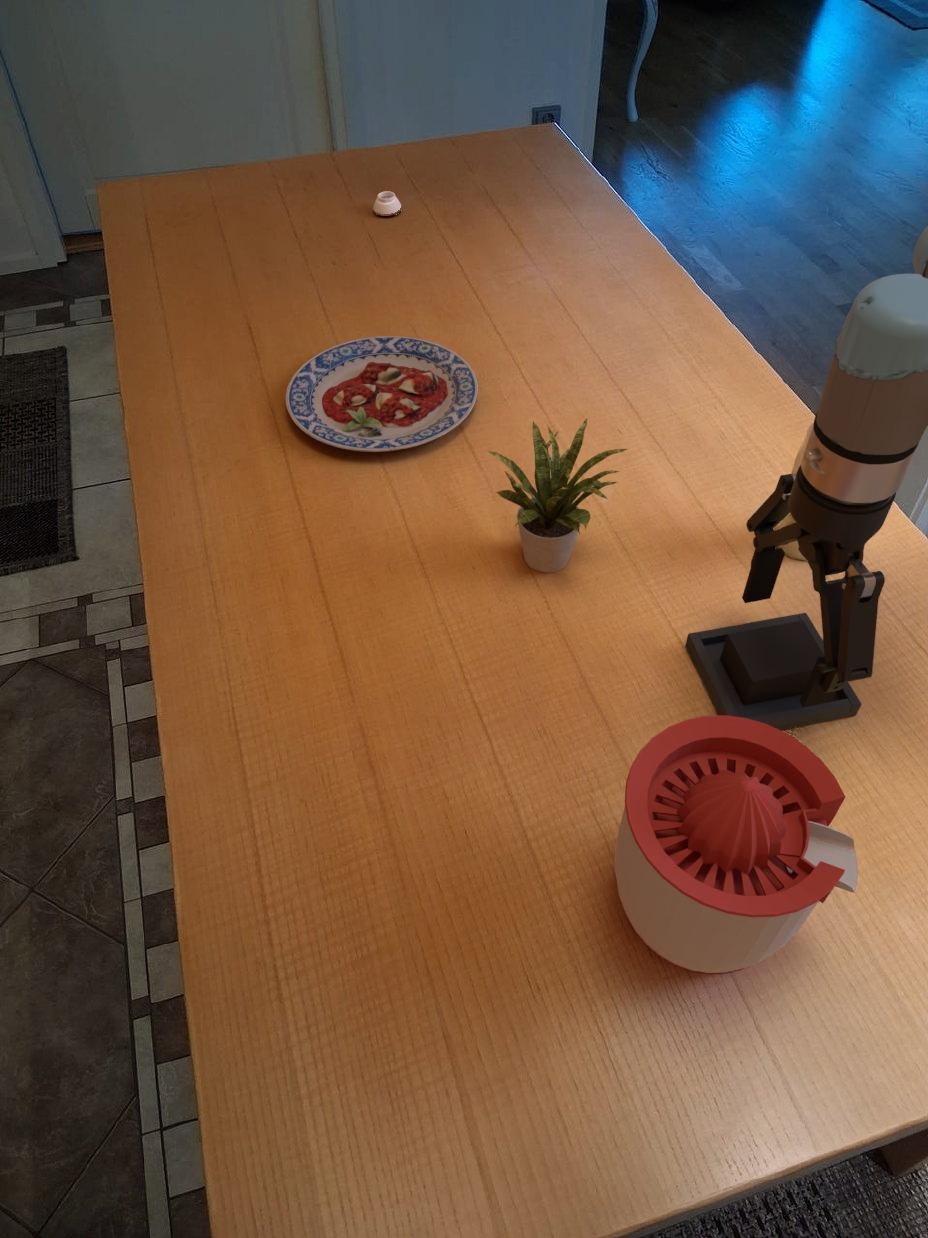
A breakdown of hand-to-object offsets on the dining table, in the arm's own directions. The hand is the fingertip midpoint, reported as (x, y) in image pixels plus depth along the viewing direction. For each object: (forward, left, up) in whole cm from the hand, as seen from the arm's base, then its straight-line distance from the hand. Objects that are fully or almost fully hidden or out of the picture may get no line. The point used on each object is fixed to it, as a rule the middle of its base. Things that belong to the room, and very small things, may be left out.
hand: (783, 647), depth 86 cm
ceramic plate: (+31, -55, -5) cm, 64 cm away
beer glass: (-12, -18, -5) cm, 22 cm away
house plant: (+16, -21, -5) cm, 27 cm away
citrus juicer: (+15, +21, -5) cm, 26 cm away
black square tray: (0, 0, -5) cm, 5 cm away
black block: (0, 0, -4) cm, 4 cm away
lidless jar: (+22, -110, -5) cm, 112 cm away
